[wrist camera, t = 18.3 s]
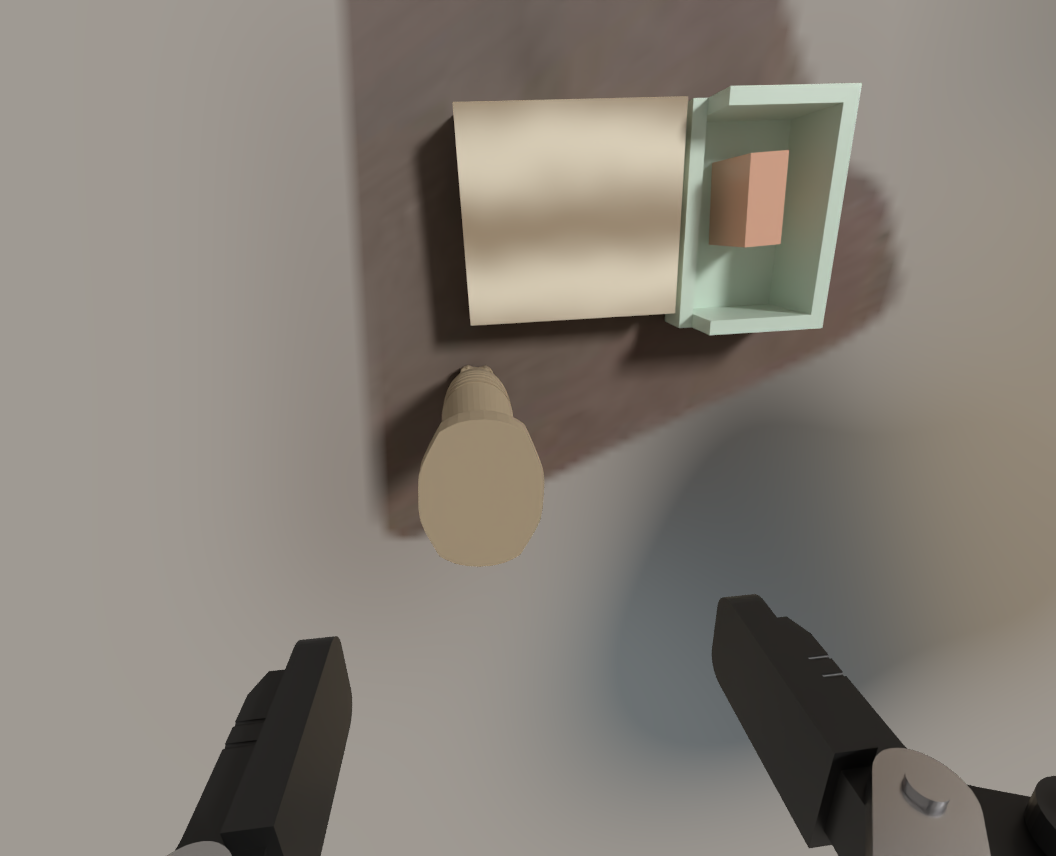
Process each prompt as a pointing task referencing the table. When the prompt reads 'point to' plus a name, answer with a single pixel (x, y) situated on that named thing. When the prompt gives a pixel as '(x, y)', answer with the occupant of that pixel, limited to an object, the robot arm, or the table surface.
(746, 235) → the tile
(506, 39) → the table surface
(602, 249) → the cream flat slab
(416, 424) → the table surface
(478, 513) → the handle
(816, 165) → the box
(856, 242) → the table surface
